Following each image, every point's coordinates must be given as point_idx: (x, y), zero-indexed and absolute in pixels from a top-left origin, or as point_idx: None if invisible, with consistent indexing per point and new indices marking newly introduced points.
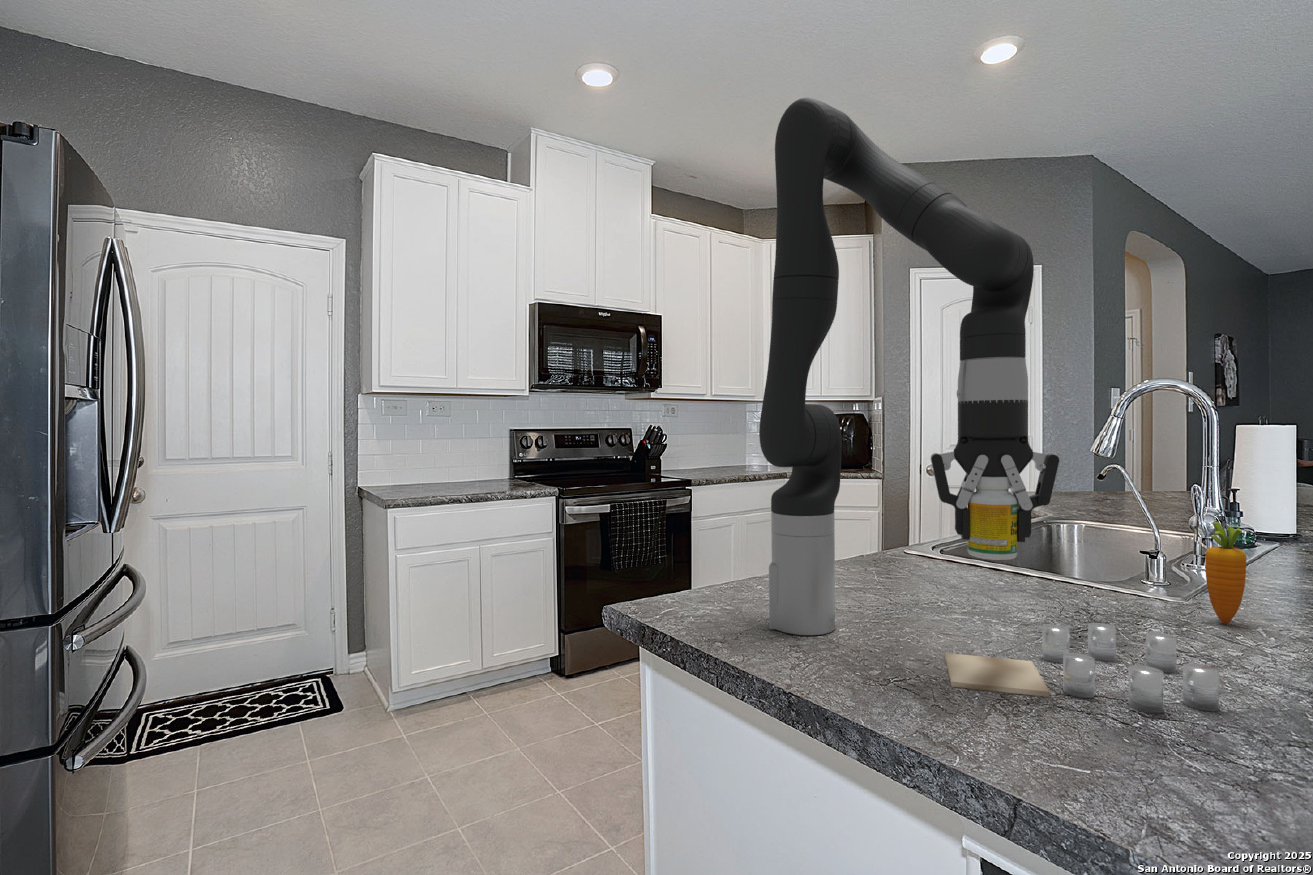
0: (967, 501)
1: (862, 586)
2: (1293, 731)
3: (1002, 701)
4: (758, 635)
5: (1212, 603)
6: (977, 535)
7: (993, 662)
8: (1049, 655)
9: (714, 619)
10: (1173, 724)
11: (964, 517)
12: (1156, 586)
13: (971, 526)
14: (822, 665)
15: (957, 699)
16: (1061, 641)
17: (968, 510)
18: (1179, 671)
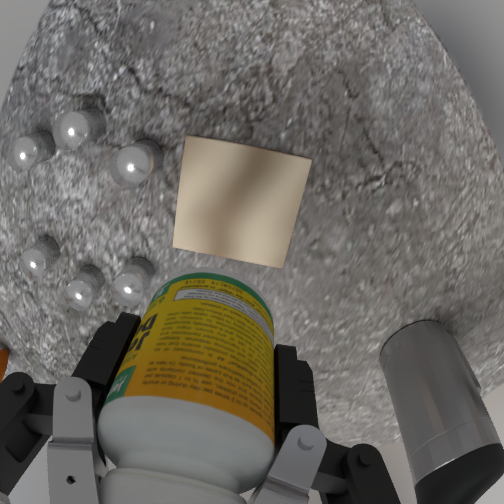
0: (286, 448)
1: None
2: (7, 102)
3: (257, 112)
4: (468, 315)
5: (5, 363)
6: (261, 331)
7: (226, 237)
8: (146, 265)
9: (482, 351)
10: (85, 82)
11: (294, 397)
12: None
13: (272, 369)
14: (445, 228)
15: (317, 115)
16: (126, 271)
17: (280, 419)
18: None
